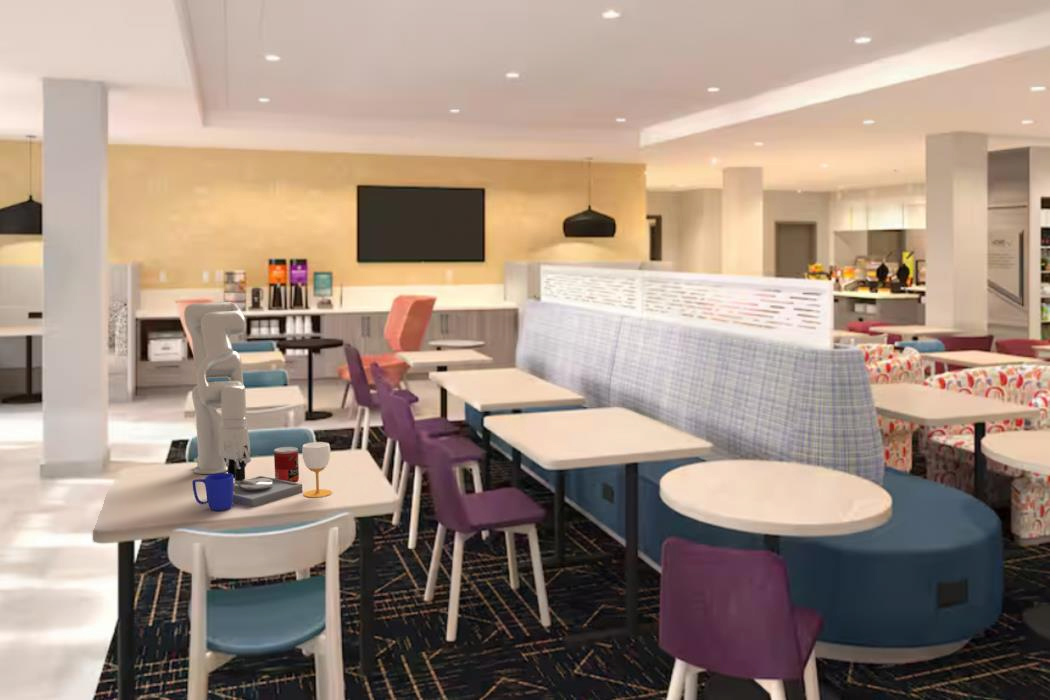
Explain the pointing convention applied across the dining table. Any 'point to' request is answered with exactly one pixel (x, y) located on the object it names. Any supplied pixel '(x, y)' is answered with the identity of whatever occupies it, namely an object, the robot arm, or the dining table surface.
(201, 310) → the robot arm
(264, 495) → the tray
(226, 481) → the mug
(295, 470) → the canned food
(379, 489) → the dining table surface
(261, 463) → the dining table surface
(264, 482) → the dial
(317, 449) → the cup
